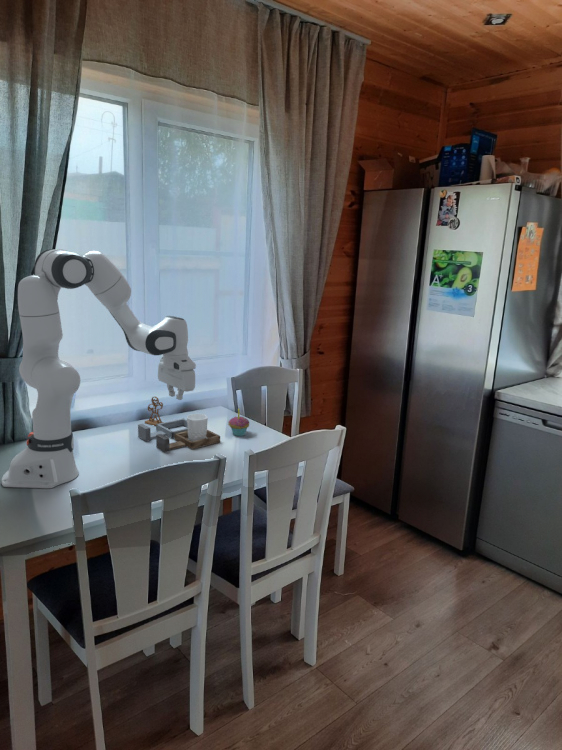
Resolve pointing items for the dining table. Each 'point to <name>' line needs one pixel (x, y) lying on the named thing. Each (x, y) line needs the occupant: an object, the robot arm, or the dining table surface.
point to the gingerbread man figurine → (151, 420)
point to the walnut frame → (184, 441)
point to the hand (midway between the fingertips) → (175, 397)
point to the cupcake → (238, 425)
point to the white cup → (197, 426)
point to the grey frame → (161, 429)
